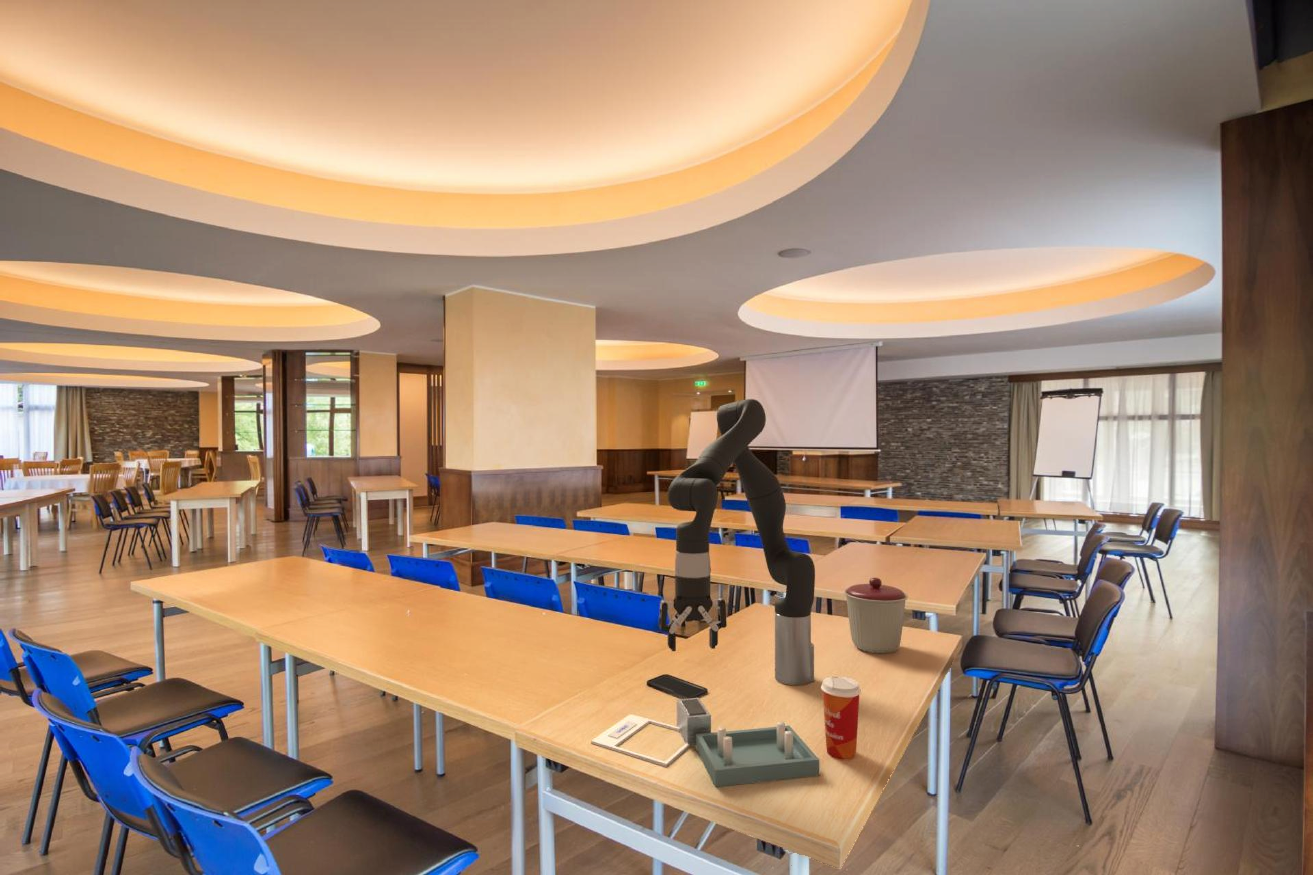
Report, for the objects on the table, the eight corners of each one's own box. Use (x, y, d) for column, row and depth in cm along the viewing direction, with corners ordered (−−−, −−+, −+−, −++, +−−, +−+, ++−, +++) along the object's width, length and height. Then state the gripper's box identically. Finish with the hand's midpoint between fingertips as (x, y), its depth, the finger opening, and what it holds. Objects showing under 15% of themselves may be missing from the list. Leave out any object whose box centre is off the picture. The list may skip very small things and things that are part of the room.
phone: (665, 673, 165) (709, 689, 154) (665, 677, 165) (709, 693, 154) (644, 681, 159) (688, 698, 148) (644, 686, 159) (688, 703, 148)
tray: (789, 739, 129) (789, 710, 129) (819, 775, 116) (819, 743, 116) (696, 749, 126) (695, 719, 126) (715, 786, 112) (715, 753, 112)
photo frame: (630, 713, 141) (701, 732, 131) (630, 718, 141) (701, 737, 131) (591, 739, 128) (666, 762, 119) (591, 745, 128) (666, 768, 119)
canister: (855, 634, 199) (855, 569, 199) (914, 645, 188) (914, 576, 189) (835, 650, 184) (835, 579, 184) (898, 663, 174) (898, 587, 174)
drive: (676, 727, 136) (676, 698, 136) (698, 724, 137) (698, 696, 137) (687, 747, 127) (687, 716, 127) (711, 744, 128) (711, 714, 128)
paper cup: (815, 744, 128) (815, 675, 128) (852, 742, 128) (851, 674, 128) (829, 763, 120) (829, 691, 120) (868, 762, 120) (868, 689, 120)
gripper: (720, 567, 137) (720, 641, 137) (656, 569, 134) (656, 645, 134) (730, 574, 130) (730, 652, 129) (663, 577, 127) (663, 657, 127)
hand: (692, 648), depth 132 cm, fingers open, 8 cm apart
